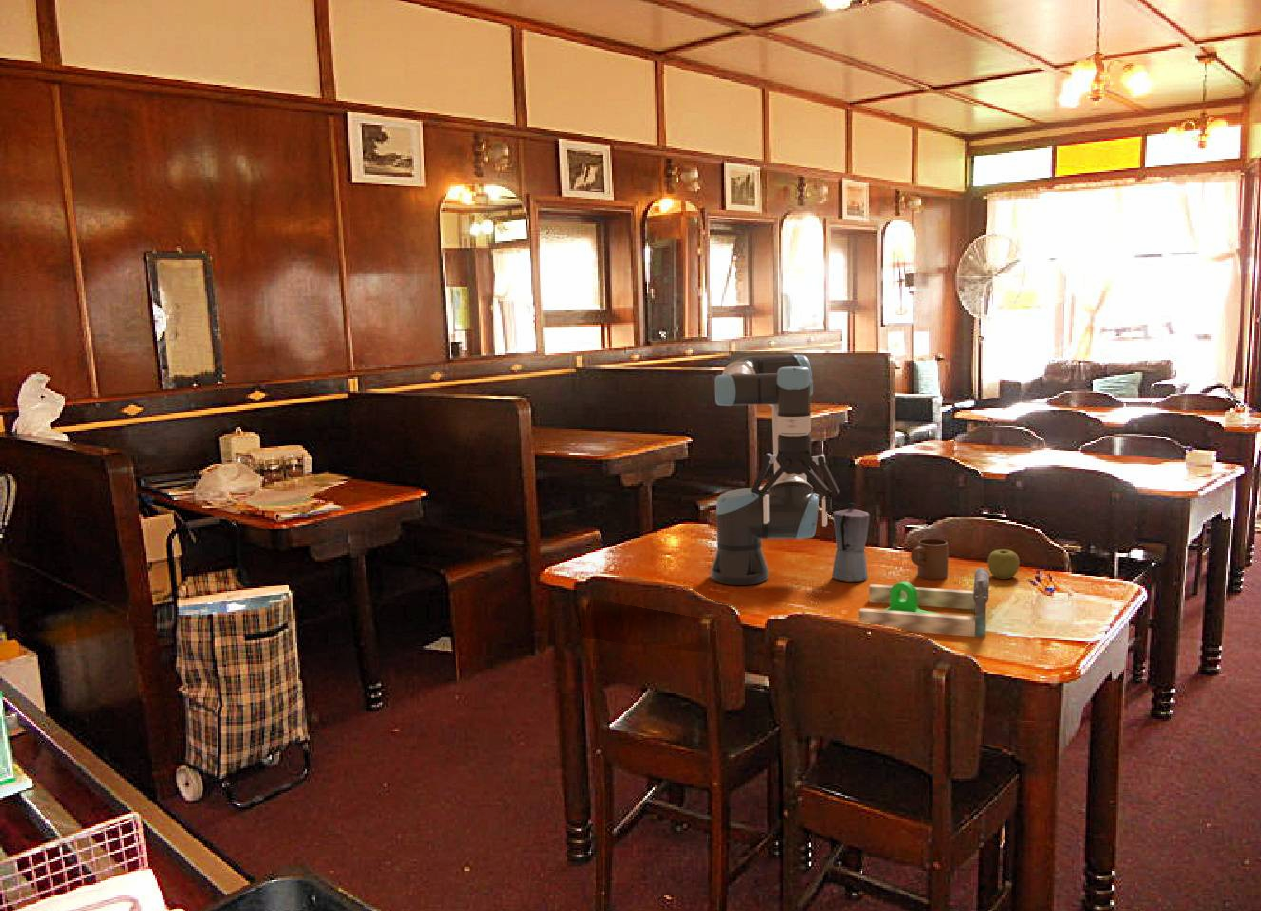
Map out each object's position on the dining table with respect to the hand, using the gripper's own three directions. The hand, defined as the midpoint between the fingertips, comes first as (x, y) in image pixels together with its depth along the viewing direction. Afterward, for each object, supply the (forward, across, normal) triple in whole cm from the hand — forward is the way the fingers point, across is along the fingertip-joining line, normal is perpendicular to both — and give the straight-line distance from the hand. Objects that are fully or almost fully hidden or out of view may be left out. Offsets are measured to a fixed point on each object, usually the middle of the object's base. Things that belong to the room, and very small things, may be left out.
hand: (795, 524), depth 218 cm
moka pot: (+21, +9, +27) cm, 35 cm away
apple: (+21, +46, +37) cm, 63 cm away
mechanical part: (+21, +27, -2) cm, 34 cm away
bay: (+20, +28, 0) cm, 35 cm away
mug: (+21, +28, +32) cm, 47 cm away
